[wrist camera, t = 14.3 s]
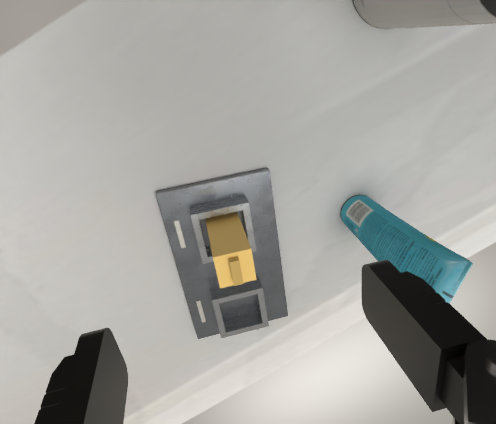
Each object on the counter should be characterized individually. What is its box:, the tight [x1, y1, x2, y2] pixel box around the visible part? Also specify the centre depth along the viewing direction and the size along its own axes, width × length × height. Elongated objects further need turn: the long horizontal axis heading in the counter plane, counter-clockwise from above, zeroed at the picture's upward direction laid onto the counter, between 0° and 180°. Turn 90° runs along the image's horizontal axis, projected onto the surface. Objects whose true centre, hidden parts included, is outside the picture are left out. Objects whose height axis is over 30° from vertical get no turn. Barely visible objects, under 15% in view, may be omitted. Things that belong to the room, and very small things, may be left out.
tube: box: [341, 195, 473, 303], centre depth 42 cm, size 7×5×19 cm, turn 170°
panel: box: [156, 168, 288, 339], centre depth 48 cm, size 14×24×4 cm, turn 9°
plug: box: [205, 211, 257, 288], centre depth 41 cm, size 4×4×11 cm
